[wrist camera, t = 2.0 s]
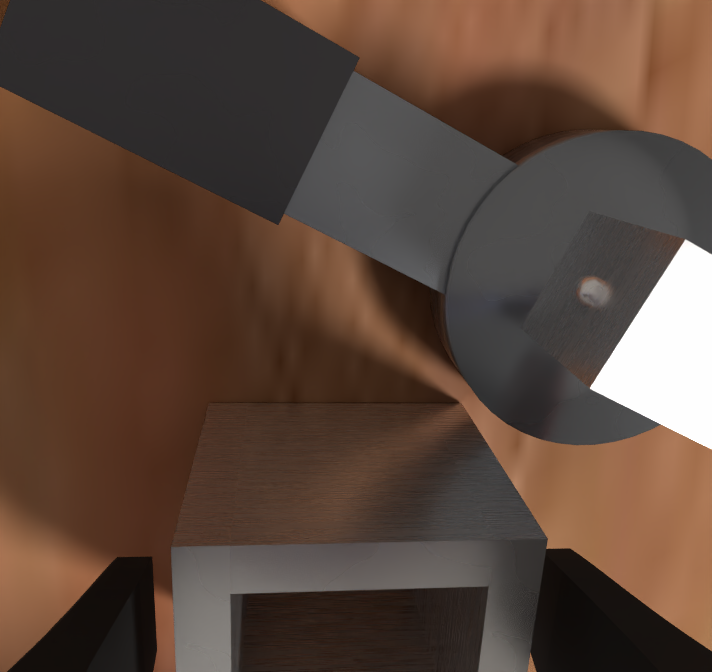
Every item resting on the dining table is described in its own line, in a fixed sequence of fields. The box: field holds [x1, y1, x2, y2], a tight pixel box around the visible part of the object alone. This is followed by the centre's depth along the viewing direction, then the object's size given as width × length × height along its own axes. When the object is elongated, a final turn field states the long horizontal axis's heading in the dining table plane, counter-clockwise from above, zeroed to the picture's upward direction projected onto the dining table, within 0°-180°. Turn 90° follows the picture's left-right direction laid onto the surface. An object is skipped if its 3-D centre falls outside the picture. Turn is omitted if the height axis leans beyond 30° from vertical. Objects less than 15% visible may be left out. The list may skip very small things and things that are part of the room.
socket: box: [171, 403, 548, 672], centre depth 13 cm, size 5×5×5 cm
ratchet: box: [0, 0, 712, 449], centre depth 11 cm, size 14×6×5 cm, turn 62°
